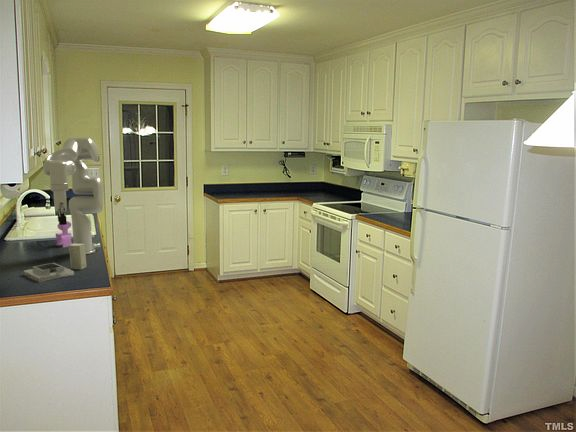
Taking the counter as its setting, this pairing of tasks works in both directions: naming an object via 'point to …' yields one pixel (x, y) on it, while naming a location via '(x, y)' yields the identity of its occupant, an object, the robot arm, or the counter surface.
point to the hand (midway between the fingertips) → (62, 223)
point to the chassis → (47, 272)
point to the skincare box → (77, 256)
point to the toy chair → (64, 235)
